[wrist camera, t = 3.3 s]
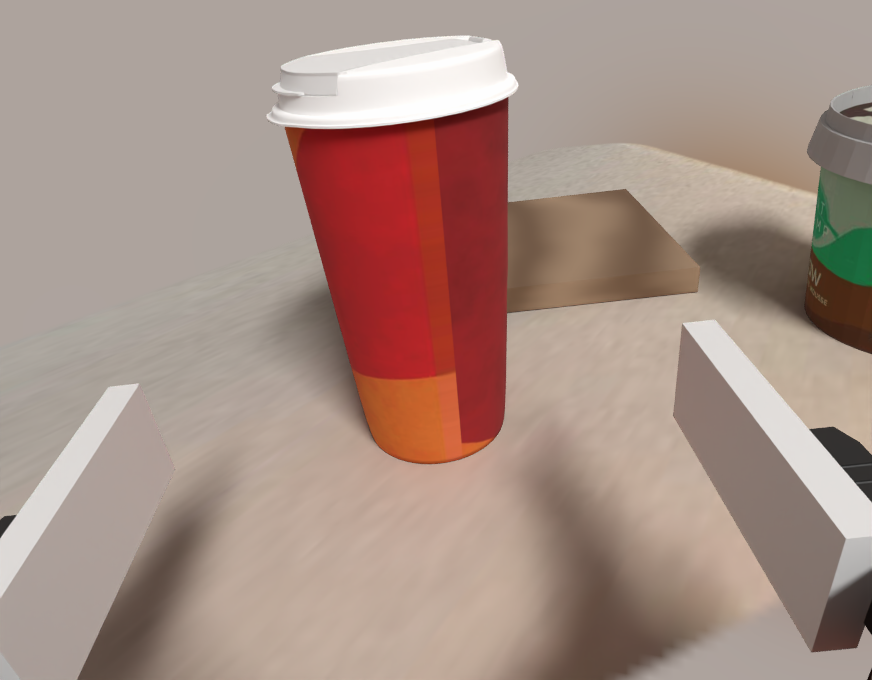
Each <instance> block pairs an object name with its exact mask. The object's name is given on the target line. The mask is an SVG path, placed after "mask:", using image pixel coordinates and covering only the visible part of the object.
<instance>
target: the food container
mask: <svg viewBox="0 0 872 680" xmlns="http://www.w3.org/2000/svg"><path fill="white" fill-rule="evenodd" d="M807 153H808V155H809V157H810V158H811V159H812V160H813V161H814V162H815V163H816V164H818V165H819V166H821V171H820V180H819V187H818V196H817V204H816V213H815V221H814V230H813V238H812V246H811V255H810V263H809V272H808V280H807V289H806V297H805V305H804V307H805V311H806V314H807V315H808V317H809V318H810V320H811V321H812V322H813V323H814V324H815V325H816V326H817V327H818V328H819V329H821V330H822V331H824V332H825V333H826V334H828V335H829V336H831V337H833V338H835V339H837V340H839V341H840V342H842V343H845V344H847V345H849V346H852V347H854V348H856V349H859V350H862V351H865V352H868V353H871V354H872V85H870V86H865V87H861V88H857V89H853V90H850V91H847V92H844V93H842V94H840V95H838V96H836V97H835V98H834V99H833V100H832V101H831V103H830V107H829V110H827V111H825V112H824V113H823V114H822V116H821V117H820V120H819V122H818V124H817V126H816V129H815V131H814V133H813V136H812V138H811V140H810V143H809V145H808V149H807Z"/></svg>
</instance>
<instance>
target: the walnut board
mask: <svg viewBox="0 0 872 680" xmlns="http://www.w3.org/2000/svg"><path fill="white" fill-rule="evenodd" d="M699 275H700V266H699V265H698V264H697V263H696V262H695V261H694V260H693V259H692V258H691V257H690V256H689V255H688V254H687V253H686V252H685V250H684V249H683V248H682V247H681V246H680V245H679V244H678V243H677V242H676V241H675V240H674V239H673V238H672V237H671V236H670V235H669V234H668V233H667V232H666V231H665V229H664V228H663V227H662V226H661V225H660V224H659V223H658V222H657V221H656V220H655V219H654V218H653V217H652V216H651V215H650V214H649V213H648V212H647V211H646V210H645V209H644V207H643V206H642V205H641V204H640V203H639V202H638V201H637V200H636V199H635V198H634V197H633V196H632V195H631V194H630V193H629V192H628V191H627V190H626V189H622V190H613V191H605V192H596V193H587V194H578V195H570V196H561V197H552V198H543V199H535V200H526V201H517V202H508V277H507V313H508V312H517V311H526V310H535V309H544V308H554V307H563V306H572V305H581V304H590V303H599V302H608V301H617V300H626V299H635V298H644V297H654V296H663V295H672V294H681V293H690V292H698V283H699Z"/></svg>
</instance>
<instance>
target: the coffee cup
mask: <svg viewBox="0 0 872 680" xmlns="http://www.w3.org/2000/svg"><path fill="white" fill-rule="evenodd" d="M280 68H281V78H280V82H278V83H276V84H275V85H273V86H272V91H273V92H274V93H277V94H278V99H279V101H278V102H277V103H276V104H274V106H273V108H272V111H271V112H270V113H268V114H267V119H268V121H269V122H271V123H272V124H274V125H277V126H283V127H285V130H286V134H287V137H288V141H289V145H290V148H291V151H292V155H293V159H294V163H295V166H296V170H297V173H298V177H299V180H300V184H301V188H302V192H303V195H304V199H305V202H306V206H307V209H308V213H309V216H310V219H311V224H312V227H313V231H314V235H315V239H316V242H317V246H318V249H319V253H320V257H321V260H322V264H323V268H324V271H325V275H326V278H327V282H328V286H329V289H330V293H331V297H332V300H333V304H334V307H335V311H336V314H337V318H338V322H339V325H340V329H341V332H342V336H343V340H344V343H345V347H346V350H347V354H348V357H349V361H350V364H351V368H352V371H353V375H354V378H355V382H356V385H357V389H358V392H359V396H360V399H361V403H362V406H363V409H364V412H365V416H366V419H367V422H368V425H369V428H370V431H371V433H372V436H373V438H374V440H375V442H376V443H377V445H378V446H379V447H380V448H381V449H382V450H383V451H385V452H386V453H388V454H389V455H391V456H393V457H395V458H398V459H400V460H404V461H407V462H412V463H420V464H438V463H446V462H451V461H455V460H459V459H462V458H465V457H468V456H470V455H472V454H474V453H476V452H478V451H480V450H481V449H483V448H484V447H486V446H487V445H488V444H489V443H491V442H492V441H493V440H494V438H495V437H496V436H497V435H498V433H499V432H500V430H501V427H502V425H503V420H504V412H505V392H506V341H507V277H508V97H509V96H510V95H512V94H513V93H514V92H516V91H517V89H518V82H517V81H516V79H515V77H514V75H512V74H511V73H508V72H507V69H506V62H505V57H504V52H503V48H502V45H501V43H500V42H499V40H494V41H493V40H490V39H487V38H480V37H474V36H445V37H430V38H417V39H407V40H398V41H390V42H382V43H374V44H368V45H361V46H354V47H348V48H342V49H337V50H332V51H327V52H322V53H318V54H313V55H309V56H305V57H301V58H298V59H296V60H293V61H290V62H287V63H285V64H283V65H282V66H281V67H280Z"/></svg>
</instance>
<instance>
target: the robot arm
mask: <svg viewBox="0 0 872 680" xmlns="http://www.w3.org/2000/svg"><path fill="white" fill-rule="evenodd" d="M673 416H674V418H675V420H676V421H677V423H678V425H679V427H680V428H681V430H682V432H683V433H684V435H685V437H686V439H687V440H688V442H689V444H690V445H691V447H692V449H693V451H694V452H695V454H696V456H697V457H698V459H699V461H700V463H701V464H702V466H703V468H704V469H705V471H706V473H707V475H708V476H709V478H710V480H711V481H712V483H713V485H714V487H715V488H716V490H717V492H718V493H719V495H720V497H721V499H722V500H723V502H724V504H725V505H726V507H727V509H728V511H729V512H730V514H731V516H732V517H733V519H734V521H735V523H736V524H737V526H738V528H739V529H740V531H741V533H742V535H743V536H744V538H745V540H746V541H747V543H748V545H749V547H750V548H751V550H752V552H753V553H754V555H755V557H756V559H757V560H758V562H759V564H760V565H761V567H762V569H763V571H764V572H765V574H766V576H767V577H768V579H769V581H770V583H771V584H772V586H773V588H774V589H775V591H776V593H777V595H778V596H779V598H780V600H781V601H782V603H783V605H784V607H785V608H786V610H787V612H788V613H789V615H790V617H791V619H792V620H793V622H794V624H795V625H796V627H797V629H798V630H799V632H800V634H801V635H802V637H803V639H804V641H805V643H806V644H807V646H808V648H809V649H810V651H811V652H821V651H831V650H842V649H851V648H857V646H858V643H859V641H860V638H861V635H862V632H863V630H864V627H865V626H866V627H867V629H868V630H869V632H870V633H871V634H872V455H871V454H870V453H869V452H868V451H867V450H866V449H865V447H864V446H863V445H862V444H861V443H860V442H858V441H857V440H855V439H853V438H852V437H850V436H848V435H846V434H845V433H843V432H841V431H840V430H838V429H836V428H835V427H826V428H816V429H808V428H807V427H806V425H805V424H804V423H803V422H802V421H801V420H800V418H799V417H798V416H797V415H796V414H795V413H794V411H793V410H792V409H791V408H790V407H789V406H788V404H787V403H786V402H785V401H784V400H783V399H782V397H781V396H780V395H779V394H778V393H777V392H776V390H775V389H774V388H773V387H772V386H771V385H770V383H769V382H768V381H767V380H766V379H765V378H764V376H763V375H762V374H761V373H760V372H759V371H758V369H757V368H756V367H755V366H754V365H753V364H752V362H751V361H750V360H749V359H748V358H747V357H746V355H745V354H744V353H743V352H742V351H741V350H740V348H739V347H738V346H737V345H736V344H735V343H734V341H733V340H732V339H731V338H730V337H729V336H728V335H727V333H726V332H725V331H724V330H723V329H722V328H721V326H720V325H719V324H718V323H717V322H716V321H715V320H706V321H697V322H688V323H682V331H681V341H680V351H679V361H678V372H677V382H676V392H675V402H674V412H673ZM174 471H175V467H174V465H173V462H172V460H171V457H170V455H169V453H168V450H167V448H166V445H165V443H164V441H163V438H162V436H161V433H160V431H159V429H158V426H157V424H156V421H155V419H154V417H153V414H152V412H151V409H150V407H149V405H148V402H147V400H146V397H145V395H144V392H143V390H142V388H141V385H140V383H139V384H130V385H121V386H112V387H108V389H107V390H106V391H105V393H104V394H103V396H102V397H101V398H100V400H99V401H98V403H97V404H96V405H95V407H94V408H93V410H92V411H91V412H90V414H89V415H88V417H87V418H86V419H85V421H84V422H83V424H82V425H81V426H80V428H79V429H78V431H77V432H76V433H75V435H74V436H73V438H72V439H71V440H70V442H69V443H68V444H67V446H66V447H65V449H64V450H63V451H62V453H61V454H60V456H59V457H58V458H57V460H56V461H55V463H54V464H53V465H52V467H51V468H50V470H49V471H48V472H47V474H46V475H45V477H44V478H43V479H42V481H41V482H40V484H39V485H38V486H37V488H36V489H35V491H34V492H33V493H32V495H31V496H30V498H29V499H28V500H27V502H26V503H25V505H24V506H23V507H22V509H21V510H20V511H19V513H18V514H17V515H13V516H4V517H3V518H2V519H1V520H0V680H77V679H78V677H79V674H80V672H81V670H82V668H83V666H84V664H85V662H86V659H87V657H88V655H89V653H90V651H91V649H92V647H93V644H94V642H95V640H96V638H97V636H98V634H99V632H100V629H101V627H102V625H103V623H104V621H105V619H106V617H107V614H108V612H109V610H110V608H111V606H112V604H113V602H114V599H115V597H116V595H117V593H118V591H119V589H120V587H121V584H122V582H123V580H124V578H125V576H126V574H127V572H128V569H129V567H130V565H131V563H132V561H133V559H134V557H135V554H136V552H137V550H138V548H139V546H140V544H141V542H142V539H143V537H144V535H145V533H146V531H147V529H148V527H149V524H150V522H151V520H152V518H153V516H154V514H155V512H156V510H157V507H158V505H159V503H160V501H161V499H162V497H163V495H164V492H165V490H166V488H167V486H168V484H169V482H170V480H171V477H172V475H173V473H174ZM867 680H872V669H871V672H870V674H869V677H868V679H867Z"/></svg>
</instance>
